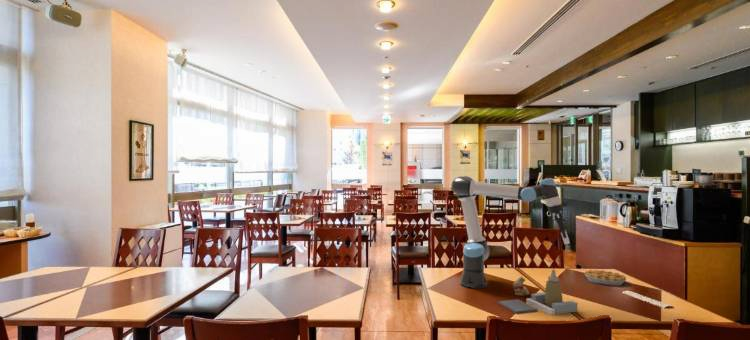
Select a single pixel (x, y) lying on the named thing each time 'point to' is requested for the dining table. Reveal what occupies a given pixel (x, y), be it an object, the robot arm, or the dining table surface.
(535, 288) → the dining table surface
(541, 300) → the grey u-shaped frame
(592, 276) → the pie
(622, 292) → the newspaper
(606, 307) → the dining table surface
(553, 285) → the squeeze bottle
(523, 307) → the rubber mat
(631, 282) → the dining table surface
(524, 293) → the chocolate bunny
